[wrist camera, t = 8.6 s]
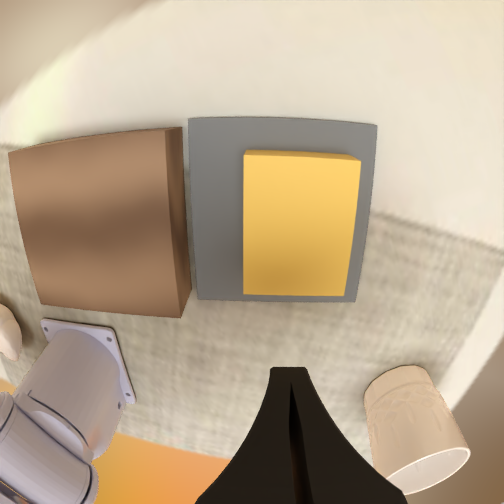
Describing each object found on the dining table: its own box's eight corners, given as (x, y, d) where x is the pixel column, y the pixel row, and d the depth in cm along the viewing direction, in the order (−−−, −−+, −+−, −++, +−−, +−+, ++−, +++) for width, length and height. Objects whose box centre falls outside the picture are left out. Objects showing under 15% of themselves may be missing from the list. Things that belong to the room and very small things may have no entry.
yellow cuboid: (243, 294, 19) (245, 274, 21) (343, 296, 19) (336, 276, 21) (243, 155, 16) (246, 149, 18) (361, 161, 16) (349, 154, 18)
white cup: (440, 388, 27) (473, 464, 18) (374, 423, 29) (393, 502, 20) (421, 345, 24) (465, 435, 15) (343, 387, 26) (363, 483, 17)
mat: (353, 298, 22) (355, 302, 22) (199, 295, 23) (197, 299, 22) (374, 125, 17) (377, 125, 17) (189, 118, 18) (188, 118, 17)
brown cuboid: (191, 289, 23) (180, 318, 19) (63, 281, 23) (41, 304, 20) (182, 127, 18) (164, 130, 15) (38, 144, 18) (8, 152, 15)
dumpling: (43, 342, 26) (25, 368, 23) (17, 347, 27) (-1, 370, 24) (6, 283, 24) (-18, 305, 20) (-17, 294, 25) (-39, 314, 21)
